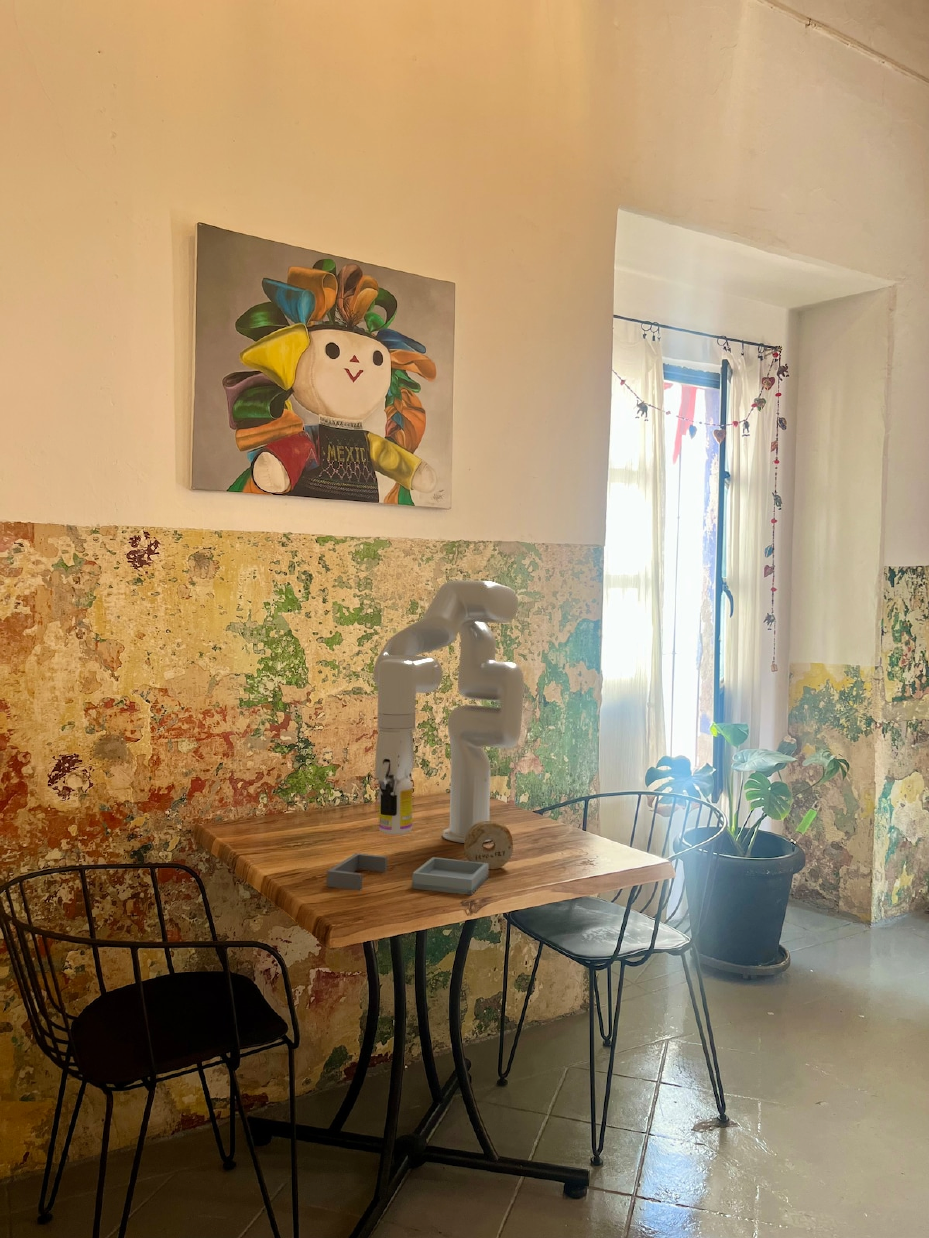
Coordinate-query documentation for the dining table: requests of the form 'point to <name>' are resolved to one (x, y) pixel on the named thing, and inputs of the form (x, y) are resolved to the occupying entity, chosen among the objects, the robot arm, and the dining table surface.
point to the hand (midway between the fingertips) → (395, 809)
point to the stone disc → (495, 854)
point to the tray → (450, 875)
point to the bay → (344, 871)
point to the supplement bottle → (398, 809)
